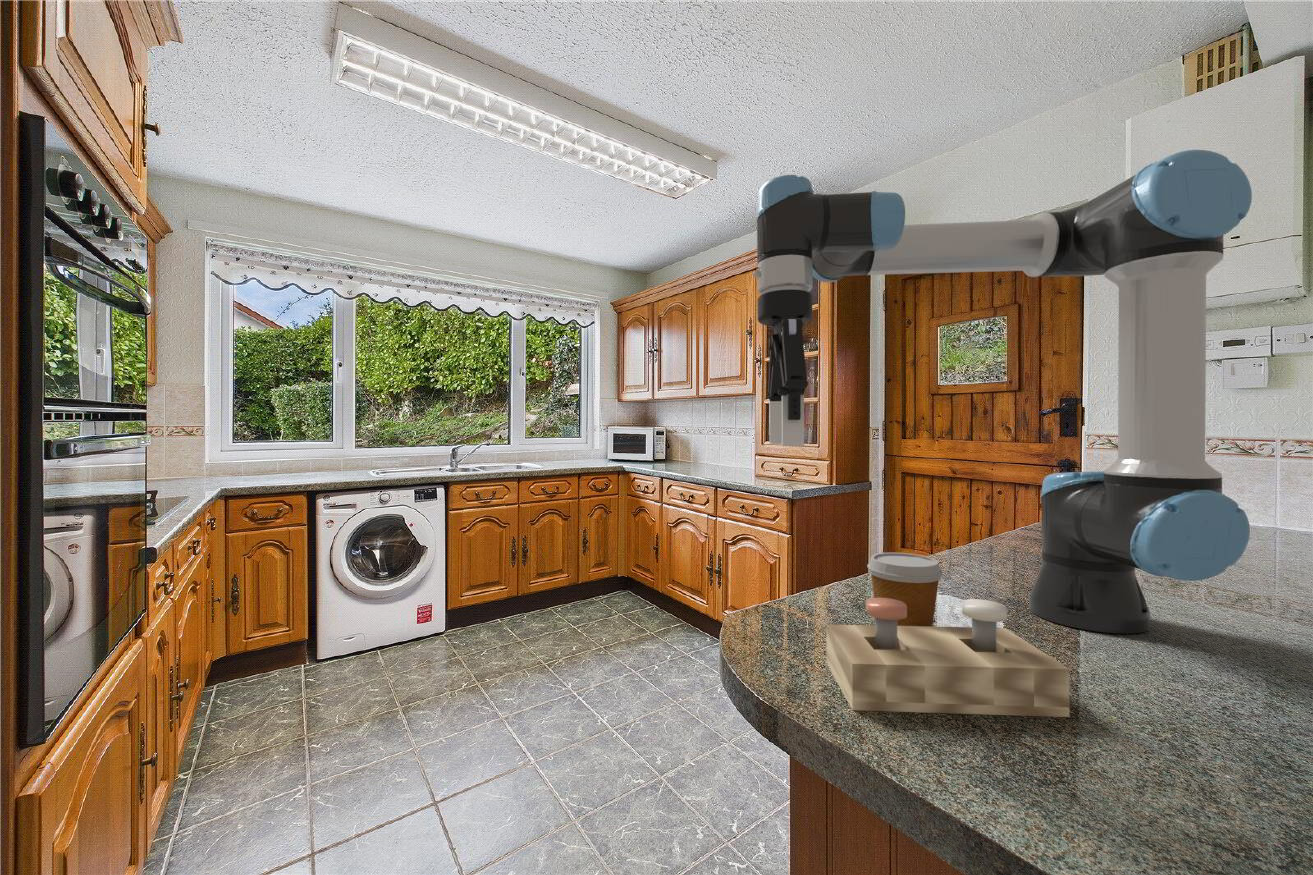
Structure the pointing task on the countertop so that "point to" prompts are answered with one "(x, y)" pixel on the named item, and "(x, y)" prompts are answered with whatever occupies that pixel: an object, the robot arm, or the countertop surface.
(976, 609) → the white mushroom knob
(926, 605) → the disposable coffee cup
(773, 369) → the robot arm
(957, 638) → the block
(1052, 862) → the countertop surface
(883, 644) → the pink round-capped knob part
